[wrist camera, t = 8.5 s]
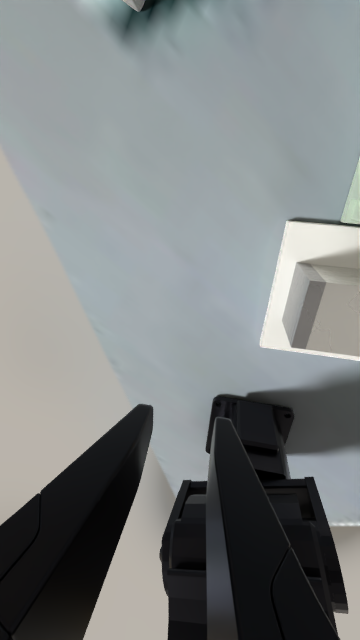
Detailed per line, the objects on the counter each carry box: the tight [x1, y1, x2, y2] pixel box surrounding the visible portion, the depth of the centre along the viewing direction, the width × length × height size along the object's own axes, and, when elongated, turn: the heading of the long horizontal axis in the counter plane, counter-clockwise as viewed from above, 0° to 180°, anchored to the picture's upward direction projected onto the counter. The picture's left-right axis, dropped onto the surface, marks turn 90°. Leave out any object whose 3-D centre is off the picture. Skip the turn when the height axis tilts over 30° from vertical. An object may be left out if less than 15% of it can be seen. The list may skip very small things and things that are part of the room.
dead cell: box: [282, 262, 360, 357], centre depth 17 cm, size 4×6×4 cm, turn 86°
